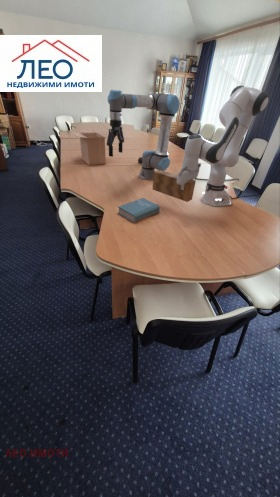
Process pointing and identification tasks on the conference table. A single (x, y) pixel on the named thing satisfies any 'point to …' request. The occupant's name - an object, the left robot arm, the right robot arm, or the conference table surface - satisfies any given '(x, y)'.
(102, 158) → the box
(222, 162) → the right robot arm
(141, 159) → the laser sight
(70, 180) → the conference table surface
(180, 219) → the conference table surface
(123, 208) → the book
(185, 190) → the long box
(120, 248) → the conference table surface
